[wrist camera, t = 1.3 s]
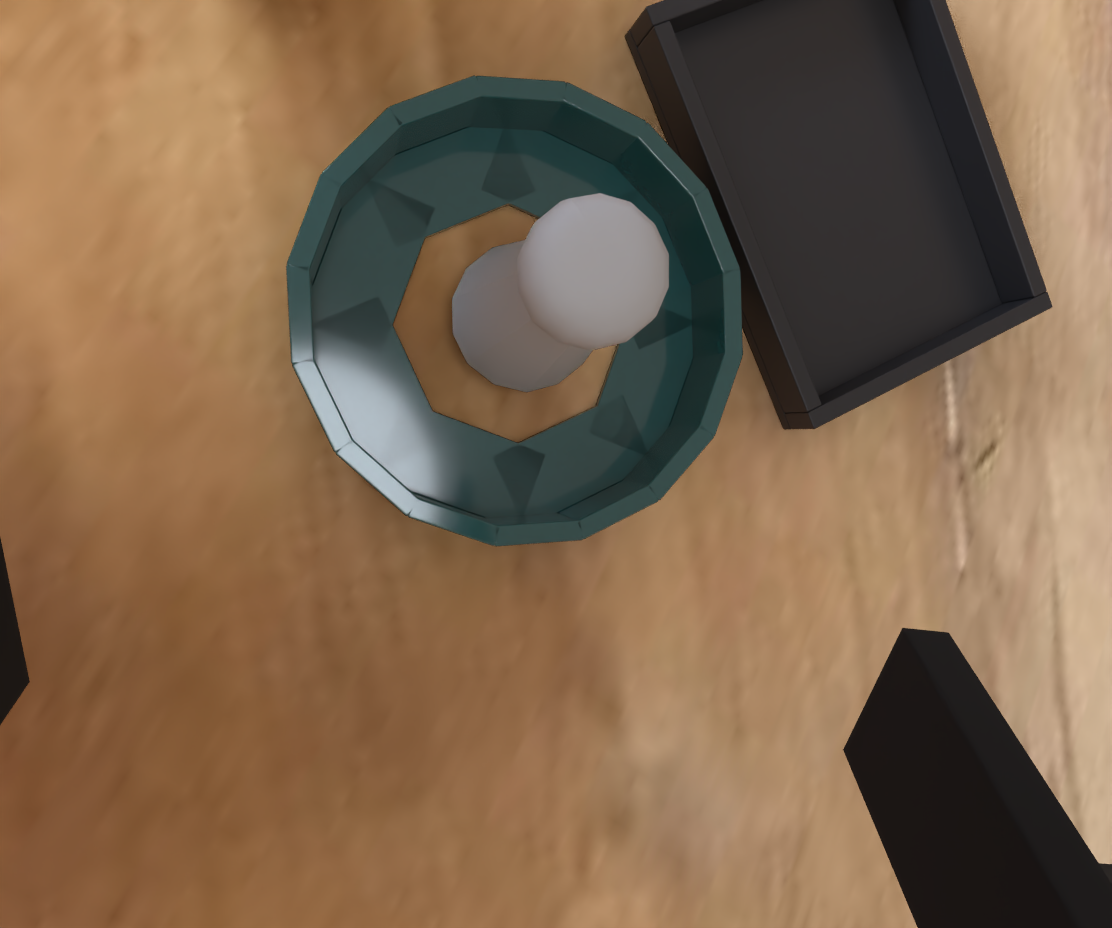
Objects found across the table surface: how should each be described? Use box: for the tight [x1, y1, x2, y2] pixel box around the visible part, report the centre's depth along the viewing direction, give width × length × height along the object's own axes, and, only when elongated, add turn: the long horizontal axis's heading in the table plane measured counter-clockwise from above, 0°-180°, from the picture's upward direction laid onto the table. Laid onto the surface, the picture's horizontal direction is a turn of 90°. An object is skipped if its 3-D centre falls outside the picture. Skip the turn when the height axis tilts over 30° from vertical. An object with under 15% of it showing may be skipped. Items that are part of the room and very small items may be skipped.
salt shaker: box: [452, 193, 669, 392], centre depth 29 cm, size 6×6×13 cm
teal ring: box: [286, 76, 743, 546], centre depth 34 cm, size 18×18×4 cm
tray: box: [625, 0, 1052, 429], centre depth 38 cm, size 19×14×3 cm
